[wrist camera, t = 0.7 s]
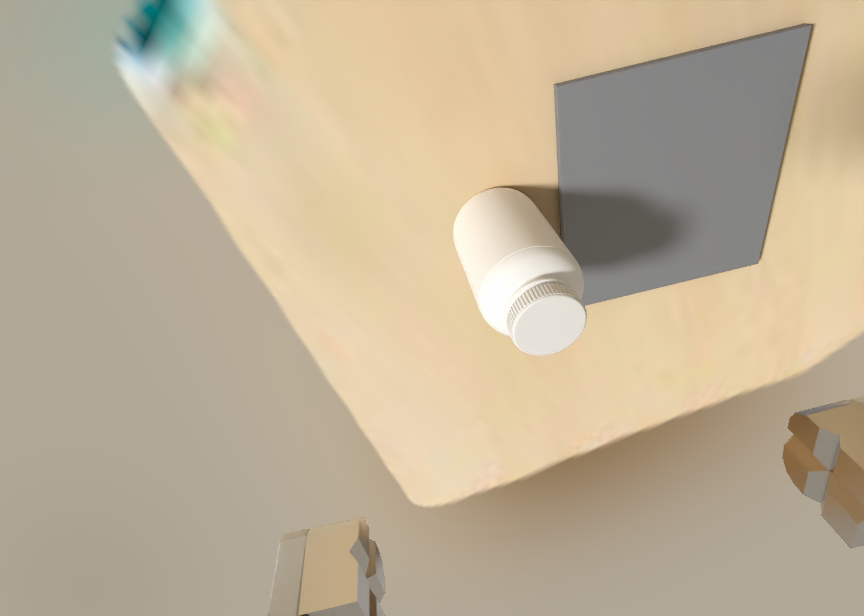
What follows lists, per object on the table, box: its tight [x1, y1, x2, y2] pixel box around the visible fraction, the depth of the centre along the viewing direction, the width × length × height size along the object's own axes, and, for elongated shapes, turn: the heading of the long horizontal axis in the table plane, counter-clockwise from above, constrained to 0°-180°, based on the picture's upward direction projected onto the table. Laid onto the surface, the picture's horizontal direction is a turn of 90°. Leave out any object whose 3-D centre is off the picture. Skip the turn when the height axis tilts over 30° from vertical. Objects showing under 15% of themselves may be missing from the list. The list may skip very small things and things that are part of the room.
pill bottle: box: [453, 188, 587, 356], centre depth 41 cm, size 8×8×15 cm
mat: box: [554, 24, 812, 306], centre depth 47 cm, size 22×20×1 cm
